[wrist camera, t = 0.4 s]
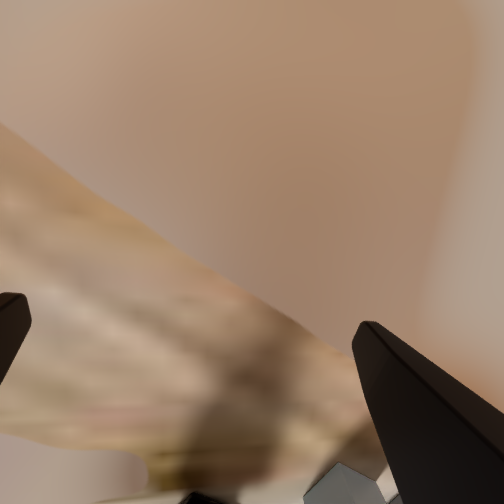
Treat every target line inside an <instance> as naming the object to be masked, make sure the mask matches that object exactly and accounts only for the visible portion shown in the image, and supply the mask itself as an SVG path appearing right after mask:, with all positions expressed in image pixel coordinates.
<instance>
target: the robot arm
mask: <svg viewBox="0 0 504 504" xmlns="http://www.w3.org/2000/svg"><path fill="white" fill-rule="evenodd" d="M31 322H32V318H31V314H30V310H29V305H28V301H27V298H26V296H25V295H24V294H22V293H12V292H4V293H1V294H0V385H1V383H2V381H3V379H4V377H5V376H6V374H7V372H8V370H9V368H10V366H11V364H12V362H13V360H14V358H15V356H16V354H17V352H18V350H19V349H20V347H21V345H22V343H23V341H24V339H25V337H26V335H27V333H28V331H29V329H30V327H31ZM352 350H353V354H354V358H355V362H356V366H357V370H358V374H359V378H360V382H361V386H362V390H363V393H364V397H365V400H366V403H367V406H368V409H369V411H370V414H371V417H372V420H373V423H374V425H375V428H376V431H377V434H378V436H379V439H380V442H381V445H382V447H383V450H384V453H385V456H386V458H387V461H388V464H389V467H390V469H391V472H392V475H393V478H394V480H395V483H396V486H397V489H398V492H399V494H400V497H401V500H402V503H403V504H504V414H503V413H502V412H500V411H499V410H498V409H496V408H495V407H493V406H492V405H491V404H489V403H488V402H487V401H485V400H484V399H483V398H481V397H480V396H478V395H477V394H476V393H474V392H473V391H471V390H470V389H469V388H467V387H466V386H464V385H463V384H462V383H460V382H459V381H458V380H456V379H455V378H454V377H452V376H451V375H449V374H448V373H446V372H445V371H444V370H442V369H441V368H440V367H438V366H437V365H436V364H434V363H433V362H431V361H430V360H429V359H427V358H426V357H424V356H423V355H422V354H420V353H419V352H417V351H416V350H415V349H413V348H412V347H411V346H409V345H408V344H407V343H405V342H404V341H402V340H401V339H400V338H398V337H397V336H396V335H394V334H393V333H391V332H390V331H389V330H387V329H386V328H384V327H383V326H382V325H380V324H379V323H377V322H374V321H363V322H361V323H360V325H359V327H358V329H357V332H356V334H355V336H354V338H353V341H352ZM182 504H222V503H220V502H217V501H215V500H213V499H210V498H208V497H205V496H203V495H201V494H198V493H192V494H191V495H190V496H189V497H188V498H187V499H186V500H185V501H184V502H183V503H182Z"/></svg>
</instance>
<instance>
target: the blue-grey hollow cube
mask: <svg viewBox="0 0 504 504" xmlns="http://www.w3.org/2000/svg"><path fill="white" fill-rule="evenodd" d="M303 500H304V504H387V503H386V501H385V499H384V497H383V495H382V493H381V491H380V489H379V487H378V485H377V483H376V482H375V481H373V480H371V479H369V478H367V477H366V476H364V475H362V474H360V473H358V472H356V471H354V470H352V469H350V468H349V467H347V466H345V465H343V464H341V463H339V462H338V463H337V464H336V465H335V466H334V467H333V468H332V469H331V470H330V471H329V472H328V473H327V474H326V475H325V476H324V477H323V478H322V479H321V480H320V481H319V482H318V483H317V484H316V485H315V486H314V487H313V488H312V489H311V490H310V491H309V492H308V493H307V494H306V495H305V496H304V497H303Z"/></svg>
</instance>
